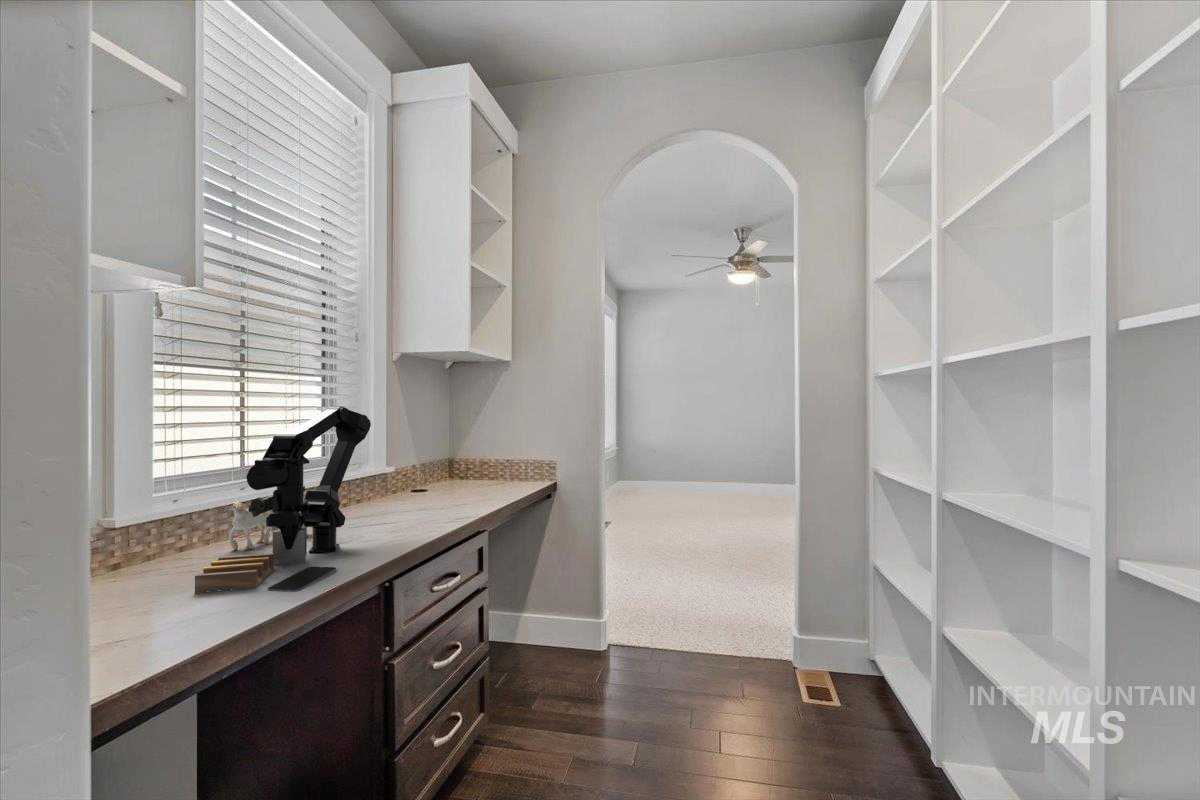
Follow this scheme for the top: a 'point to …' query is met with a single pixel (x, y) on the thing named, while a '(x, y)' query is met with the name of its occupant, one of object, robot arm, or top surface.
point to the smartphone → (302, 579)
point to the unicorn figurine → (249, 525)
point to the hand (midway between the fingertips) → (289, 548)
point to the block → (293, 555)
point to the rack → (235, 572)
